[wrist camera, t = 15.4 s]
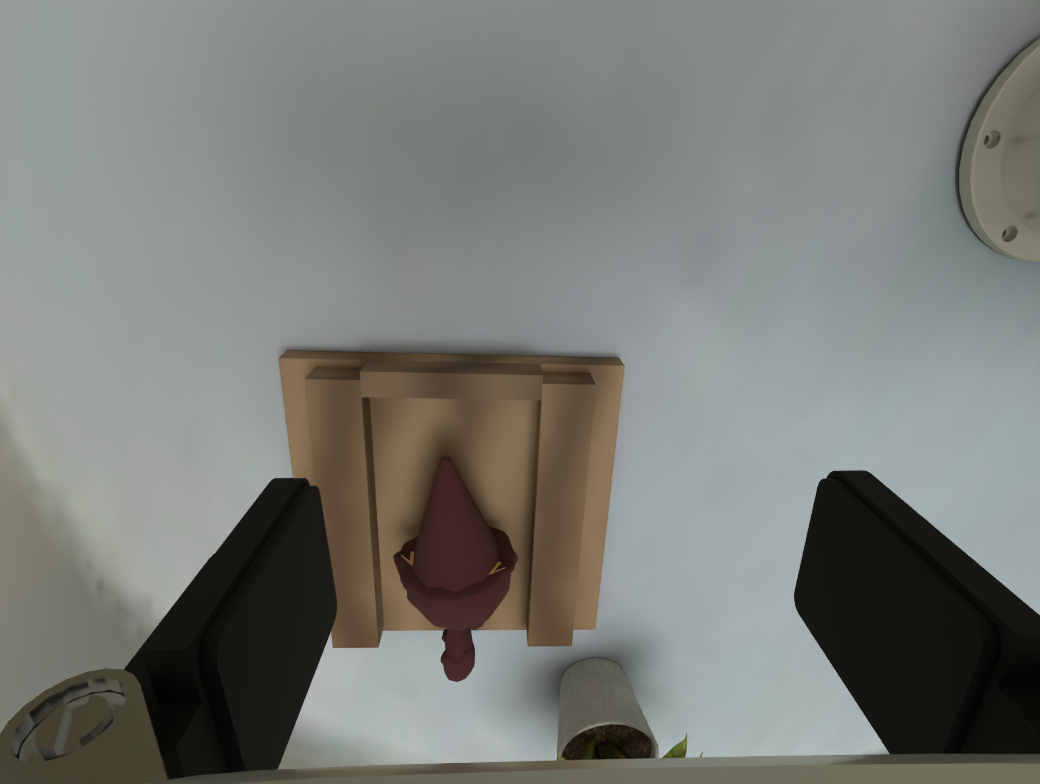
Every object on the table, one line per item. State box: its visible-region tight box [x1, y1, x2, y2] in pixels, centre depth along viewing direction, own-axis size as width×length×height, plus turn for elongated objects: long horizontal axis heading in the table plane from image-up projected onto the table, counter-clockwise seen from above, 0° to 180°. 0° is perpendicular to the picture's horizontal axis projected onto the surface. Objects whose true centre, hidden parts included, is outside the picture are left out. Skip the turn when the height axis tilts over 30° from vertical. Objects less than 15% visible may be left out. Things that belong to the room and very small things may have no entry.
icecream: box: [393, 456, 518, 682], centre depth 34 cm, size 7×7×15 cm
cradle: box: [279, 351, 624, 648], centre depth 36 cm, size 20×20×4 cm
